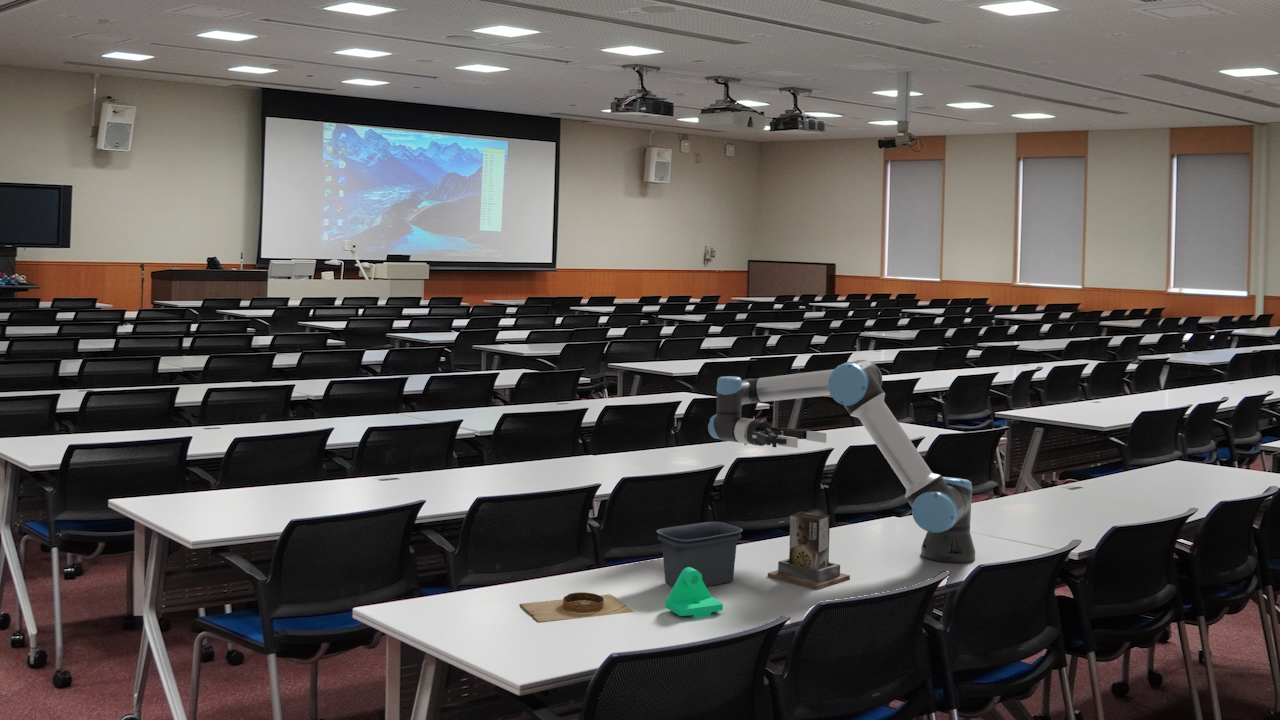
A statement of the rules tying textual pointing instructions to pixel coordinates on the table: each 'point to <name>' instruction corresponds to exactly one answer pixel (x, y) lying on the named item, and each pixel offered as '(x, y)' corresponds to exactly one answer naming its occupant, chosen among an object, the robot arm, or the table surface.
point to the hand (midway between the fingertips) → (811, 440)
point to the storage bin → (700, 551)
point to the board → (575, 607)
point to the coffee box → (809, 540)
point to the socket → (808, 575)
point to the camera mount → (691, 596)
